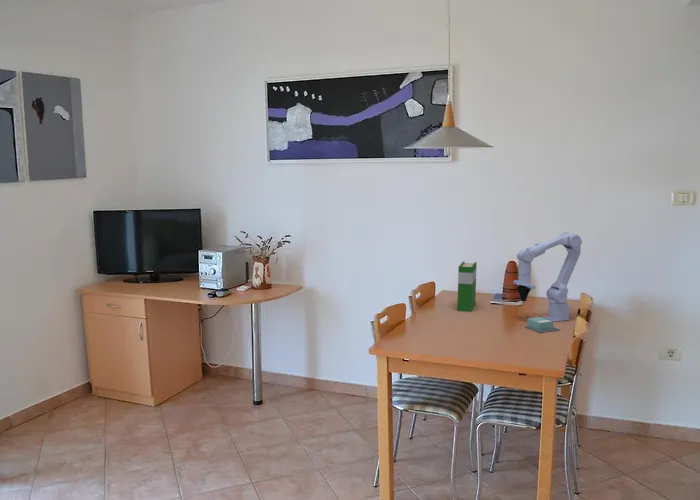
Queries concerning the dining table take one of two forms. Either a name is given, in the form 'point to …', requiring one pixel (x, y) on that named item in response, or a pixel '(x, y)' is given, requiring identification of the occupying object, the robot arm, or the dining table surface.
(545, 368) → the dining table surface
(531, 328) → the mat
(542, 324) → the slab
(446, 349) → the dining table surface
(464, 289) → the hardback book
